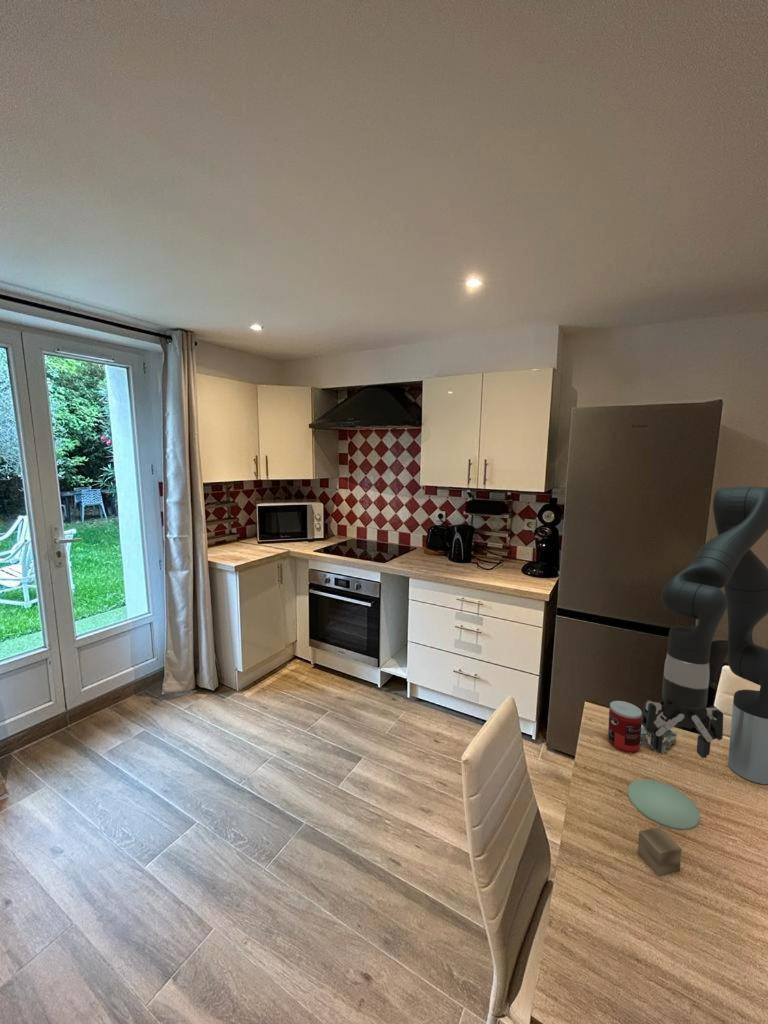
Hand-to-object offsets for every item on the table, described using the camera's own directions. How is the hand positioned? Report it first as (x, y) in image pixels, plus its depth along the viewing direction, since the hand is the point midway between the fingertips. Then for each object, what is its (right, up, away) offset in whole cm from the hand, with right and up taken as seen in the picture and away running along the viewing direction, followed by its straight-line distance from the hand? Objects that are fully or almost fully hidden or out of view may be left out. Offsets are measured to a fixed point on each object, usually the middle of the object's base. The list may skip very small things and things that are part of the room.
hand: (678, 752), depth 87 cm
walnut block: (-7, -20, -3) cm, 21 cm away
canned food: (+7, -16, +32) cm, 36 cm away
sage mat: (+4, -18, +11) cm, 22 cm away
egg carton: (+17, -16, +33) cm, 40 cm away
